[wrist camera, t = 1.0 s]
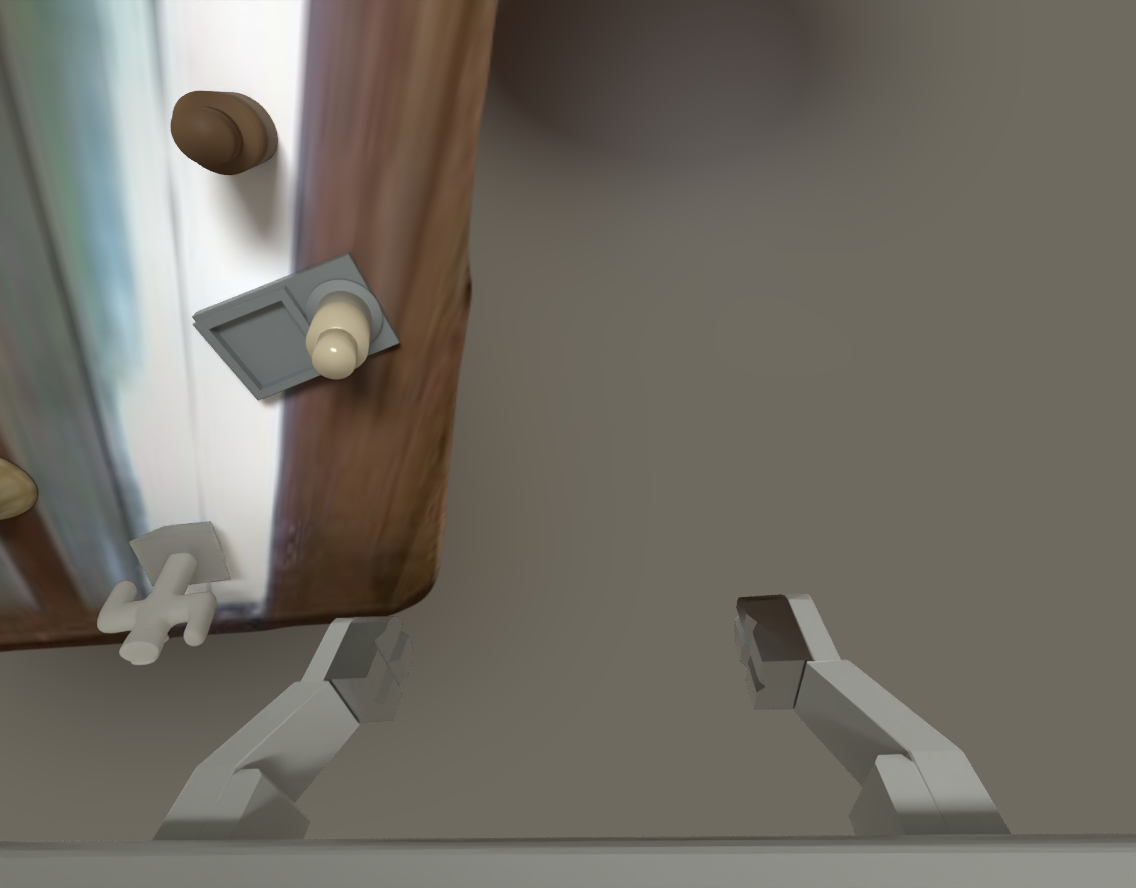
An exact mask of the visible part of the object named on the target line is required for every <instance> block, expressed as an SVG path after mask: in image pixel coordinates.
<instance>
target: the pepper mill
mask: <svg viewBox="0 0 1136 888" xmlns="http://www.w3.org/2000/svg"><path fill="white" fill-rule="evenodd" d="M171 133H172V136H173V139H174V141H175V143H176V145H177V146H178V148H179V149H180V150H181V151H182V152H183V153H184V154H185V155H186V156H187V157H188V158H190V159H191V160H193V161H195V162H197V163H198V164H199V165H201V166H202V167H204V168H206V169H208V170H210V171H212V172H215V173H219V174H224V175H235V174H239V173H242V172H244V171H246V170H248V169H250V168H253V167H255V166H257V165H259V164H261V163H263V162H266V161H267V160H269V159H270V158H271V157H272V156H273V154H274V153H275V151H276V148H277V142H278V138H277V131H276V128H275V125H274V123H273V121H272V119H271V117H270V115H269V114H268V113H267V111H266V110H265V109H264V108H263V107H262V106H261V105H260V104H259V103H257V102H256V101H255V100H253V99H251V98H250V97H248V96H246V95H243V94H240V93H234V92H215V91H194V92H190V93H187V94H185V95H184V96H182V97H181V98H180V99H179V100H178V101H177V103H176V105H175V107H174V110H173V115H172V120H171Z"/></svg>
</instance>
